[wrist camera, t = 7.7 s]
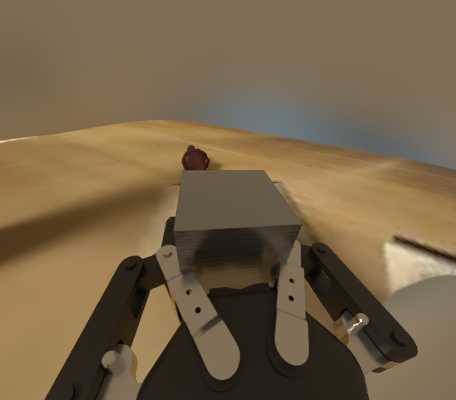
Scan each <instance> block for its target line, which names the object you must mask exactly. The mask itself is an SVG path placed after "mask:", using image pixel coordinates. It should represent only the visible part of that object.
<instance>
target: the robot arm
mask: <svg viewBox="0 0 456 400" xmlns="http://www.w3.org/2000/svg"><path fill="white" fill-rule="evenodd" d="M175 218H176V217H170V218H169V219H168V220H167V221H166V227H165V231H164V236H163V241H162V246H161V248H160V249H159V250H158V251H157V253H156V254H154V255H152V256H150V257H147V258H144V259H142V258H141V257H139V256H130V257H128V258H126V259H124V260H123V261H122V262H121V263H120V265H119V266H118V268H117V270H116V272H115V274H114V275H113V277H112V279H111V281H110V283H109V284H108V286H107V288H106V290H105V292H104V293H103V295H102V297H101V299H100V301H99V302H98V304H97V306H96V308H95V310H94V311H93V313H92V315H91V317H90V319H89V320H88V322H87V324H86V326H85V328H84V329H83V331H82V333H81V335H80V337H79V339H78V340H77V342H76V344H75V346H74V348H73V349H72V351H71V353H70V355H69V357H68V358H67V360H66V362H65V364H64V366H63V367H62V369H61V371H60V373H59V375H58V376H57V378H56V380H55V382H54V384H53V385H52V387H51V389H50V391H49V393H48V394H47V396H46V398H45V400H369V397H368V393H367V387H366V382H365V377H364V374H365V373H368V372H370V371H372V372H375V373H380V372H382V371H384V370H386V369H389V368H391V367H393V366H395V365H397V364H400V363H402V362H404V361H406V360H409V359H411V358H413V357H415V356H416V355H417V353H418V350H417V346H416V344H415V342H414V340H413V339H412V338H411V336H410V335H409V334H408V333H407V332H406V331H405V330H404V329H403V327H402V326H401V325H400V324H399V323H398V322H397V321H396V320H395V319H394V318H393V316H392V315H391V314H390V313H389V312H388V311H387V310H386V309H385V308H384V307H383V306H382V305H381V303H380V302H379V301H378V300H377V299H376V298H375V297H374V296H373V295H372V294H371V293H370V291H369V290H368V289H367V288H366V287H365V286H364V285H363V284H362V283H361V282H360V281H359V279H358V278H357V277H356V276H355V275H354V274H353V273H352V272H351V271H350V270H349V269H348V268H347V266H346V265H345V264H344V263H343V262H342V261H341V260H340V259H339V258H338V257H337V256H336V254H335V253H334V252H333V251H332V250H331V249H330V248H329V247H328V246H327V245H325V244H323V243H319V242H315V243H313V244H312V246H306V245H301V244H300V243H299V242H298V241H297V240H295V243H294V245H293V248H292V250H291V252H290V255H289V257H288V259H282V260H279V263H278V266H277V271H276V273H275V276H274V278H273V279H272V282H271V286H269V284H268V282H265V283H256V284H252V285H250V286H247V287H245V288H242V289H235V288H228V287H219V288H210V289H209V294H206V293H205V292H204V290H203V288H202V286H201V285H200V283H199V281H198V279H197V278H196V276H195V274H194V273H193V271H192V270H191V269H189V268H181V269H179V263H178V257H177V251H176V244H175V238H174V232H173V231H174V224H175ZM322 270H323V271H324V273H325V274H326V275H327V276H326V275H325V274H324V273H323V271H322ZM304 277H305V279H306V280H307V282H308V283H309V285H310V286H311V288H312V289H313V291H314V292H315V294H316V295H317V297H318V298H319V300H320V301H321V303H322V304H323V306H324V307H325V309H326V310H327V312H328V313H329V315H330V316H331V318H332V319H333V321H334V322H335V324H334V328H335V331H336V336H337V337H335V336H334V335H333V334H332V333H331V332H330V331H328V330H327V329H326V328H325V327H324V326H323V325H321V324H320V323H319V322H318V321H317V320H315V319H314V318H313V317H312V316H311V315H310V314H308V313H307V312H306V311H305V287H304ZM327 277H328V278H329V279H330V280H329V279H328V278H327ZM330 281H331V282H330ZM163 284H164V285H165V287H166V290H167V292H168V295H169V297H170V299H171V302H172V304H173V307H174V310H175V313H176V315H177V318H178V320H179V323H180V326H179V327H178V329H177V330H176V332H175V334H174V335H173V337H172V338H171V340H170V341H169V343H168V344H167V346H166V347H165V349H164V350H163V352H162V353H161V355H160V356H159V358H158V359H157V361H156V362H155V364H154V366H153V367H152V369H151V370H150V372H149V373H148V375H147V376H146V378H145V379H144V381H143V383H142V384H141V383H138V382H137V380H136V369H137V357H136V355H135V354H134V353H133V351H132V350H131V349H130V348H131V345H132V343H133V340H134V337H135V334H136V331H137V328H138V325H139V322H140V319H141V316H142V313H143V310H144V308H145V305H146V302H147V299H148V296H149V293H150V290H151V289H153V288H156V287H158V286H160V285H163Z"/></svg>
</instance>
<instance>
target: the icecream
mask: <svg viewBox="0 0 456 400" xmlns="http://www.w3.org/2000/svg"><path fill="white" fill-rule="evenodd" d="M209 162H210V160H209V158H208V157H207V154H206V153H205V152H204V151H202V150H200V149H195V147H194V146H192V145H190V146H188V148H187V151H186V152H185V154H184V156H183V158H182V164H183V166H184V169H185V170H205V169H206V168H207V167H208V164H209Z"/></svg>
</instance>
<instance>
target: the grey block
mask: <svg viewBox="0 0 456 400" xmlns="http://www.w3.org/2000/svg"><path fill="white" fill-rule="evenodd" d="M301 226H302V223H301V222H300V220H299V219H298V218H297V216H296V215H295V213H294V212H293V211H292V209H291V208H290V206H289V205H288V203H287V202H286V201H285V199H284V198H283V196H282V195H281V194H280V192H279V191H278V189H277V188H276V187H275V185H274V184H273V182H272V181H271V179H270V178H269V177H268V175H267V174H266V172H265V171H264V170H183V171H182V178H181V184H180V191H179V198H178V204H177V211H176V218H175V224H174V231H173V232H174V238H175V244H176V251H177V257H178V263H179V269H181V268H189V269H191V270H192V271H193V273H194V274H195V276H196V278H197V279H198V281H199V283H200V285H201V286H202V288H203V290H204V292H205V293H206V294H209V289H210V288H219V287H228V288H235V289H242V288H245V287H247V286H250V285H252V284H256V283H265V282H268V284H269V286H271V282H272V279H273V278H274V276H275V273H276V271H277V266H278V263H279V260H282V259H288V257H289V255H290V252H291V250H292V248H293V245H294V243H295V240H296V238H297V235H298V233H299V231H300V228H301Z"/></svg>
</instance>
